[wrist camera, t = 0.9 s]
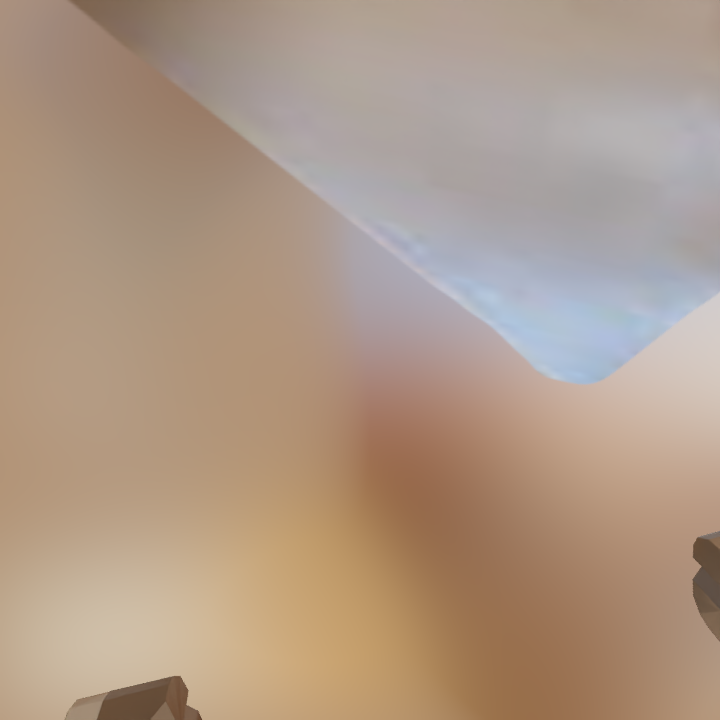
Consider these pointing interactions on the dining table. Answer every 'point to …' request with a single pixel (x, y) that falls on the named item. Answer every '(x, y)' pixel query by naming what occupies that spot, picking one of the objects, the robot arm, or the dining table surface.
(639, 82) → the dining table surface
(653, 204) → the dining table surface
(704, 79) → the dining table surface
